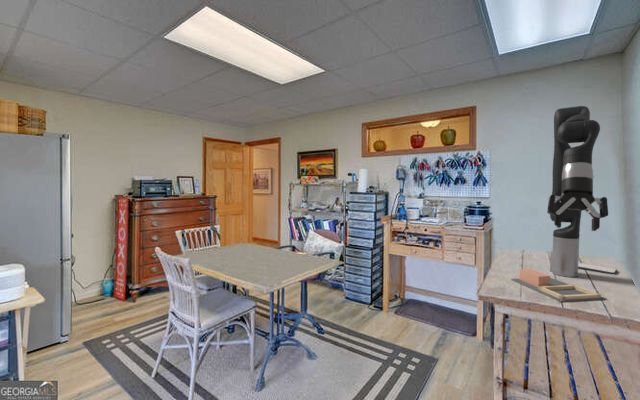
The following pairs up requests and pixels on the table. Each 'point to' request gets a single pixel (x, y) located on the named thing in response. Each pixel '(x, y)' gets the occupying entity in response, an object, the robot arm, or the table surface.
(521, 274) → the terracotta block
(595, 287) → the table surface
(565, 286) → the mat
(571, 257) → the robot arm
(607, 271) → the phone case
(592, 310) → the table surface
